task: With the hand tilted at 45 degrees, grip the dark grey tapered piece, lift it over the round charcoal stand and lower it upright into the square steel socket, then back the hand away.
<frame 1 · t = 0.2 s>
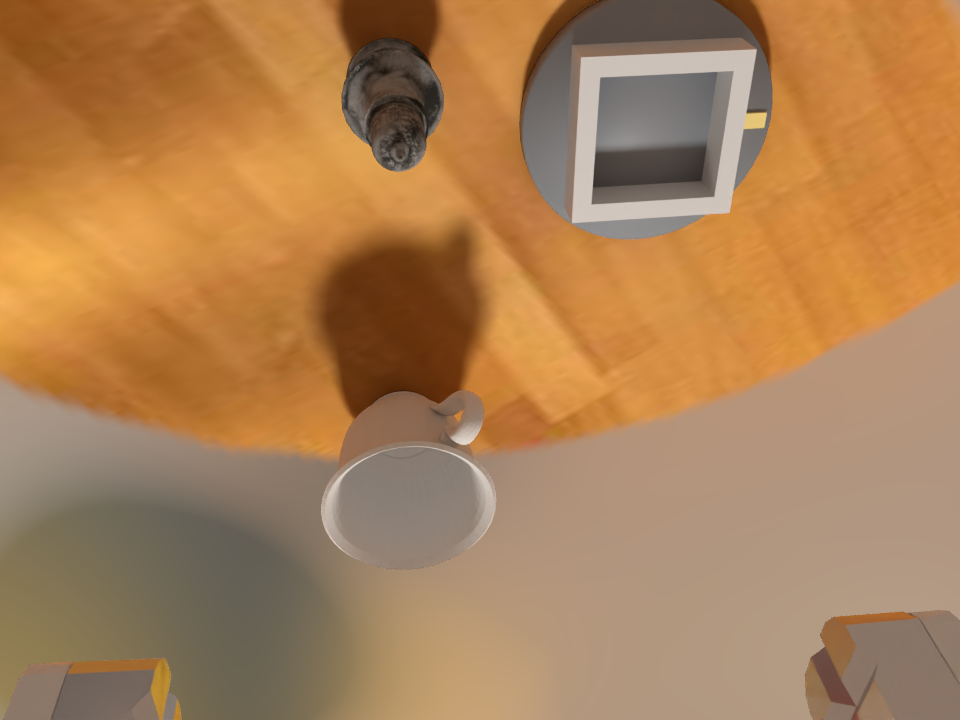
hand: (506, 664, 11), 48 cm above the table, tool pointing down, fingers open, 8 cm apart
socket stand: (642, 117, 58), on the table
dark grey tapered piece: (390, 81, 55), on the table
teacup: (411, 405, 69), on the table
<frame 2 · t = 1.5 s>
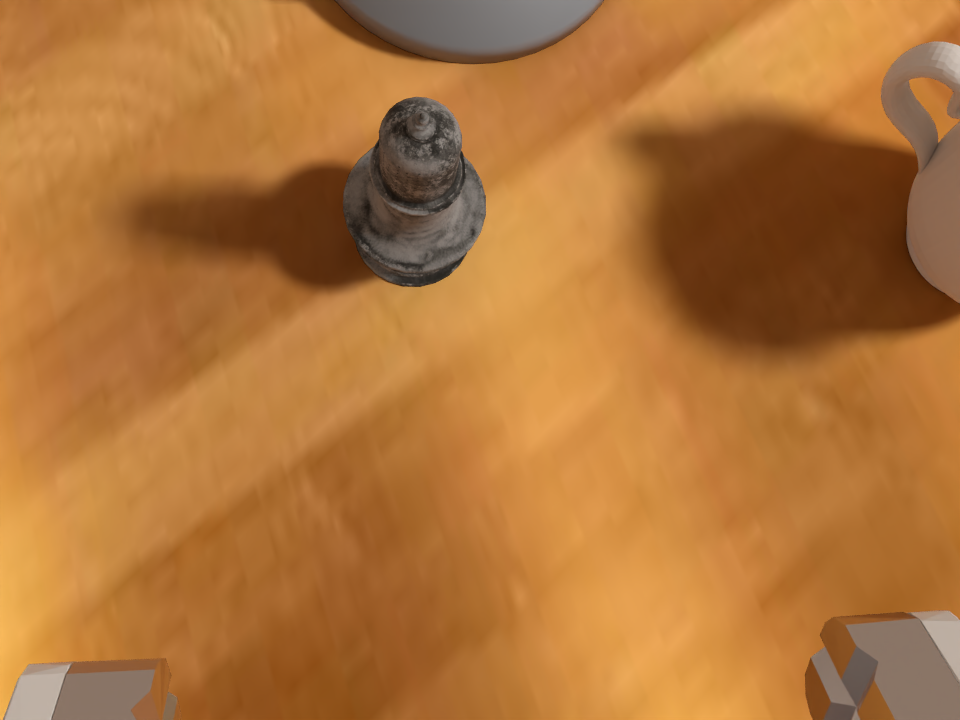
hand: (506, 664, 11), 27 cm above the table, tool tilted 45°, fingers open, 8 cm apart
dark grey tapered piece: (412, 231, 40), on the table
teacup: (933, 226, 43), on the table
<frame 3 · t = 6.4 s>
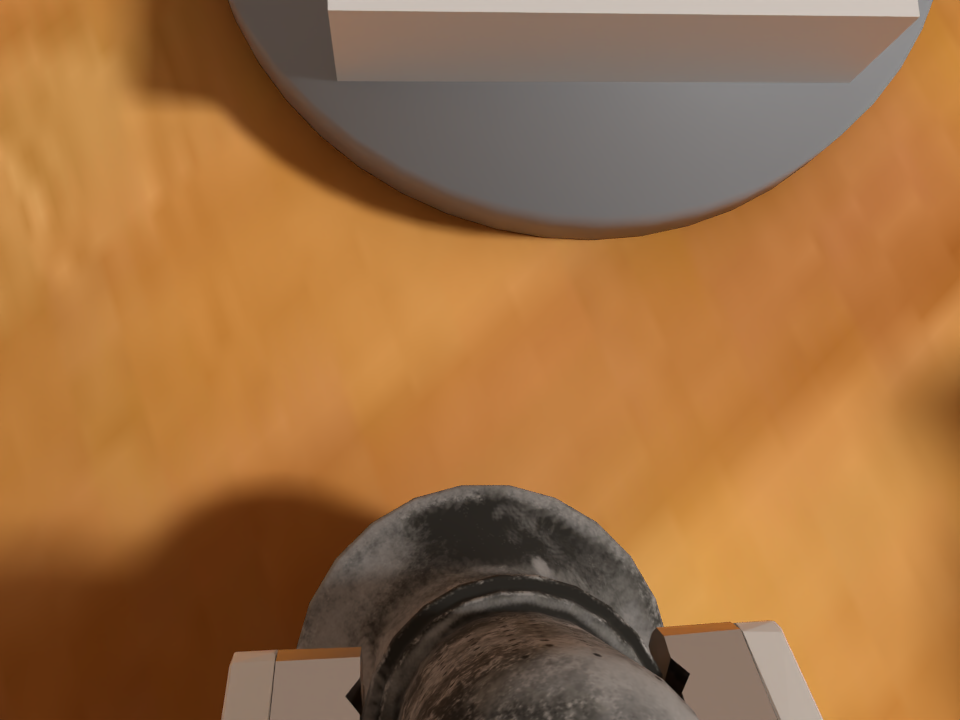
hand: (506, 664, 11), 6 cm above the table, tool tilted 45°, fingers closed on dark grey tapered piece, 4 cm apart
dark grey tapered piece: (466, 641, 17), on the table, touching gripper
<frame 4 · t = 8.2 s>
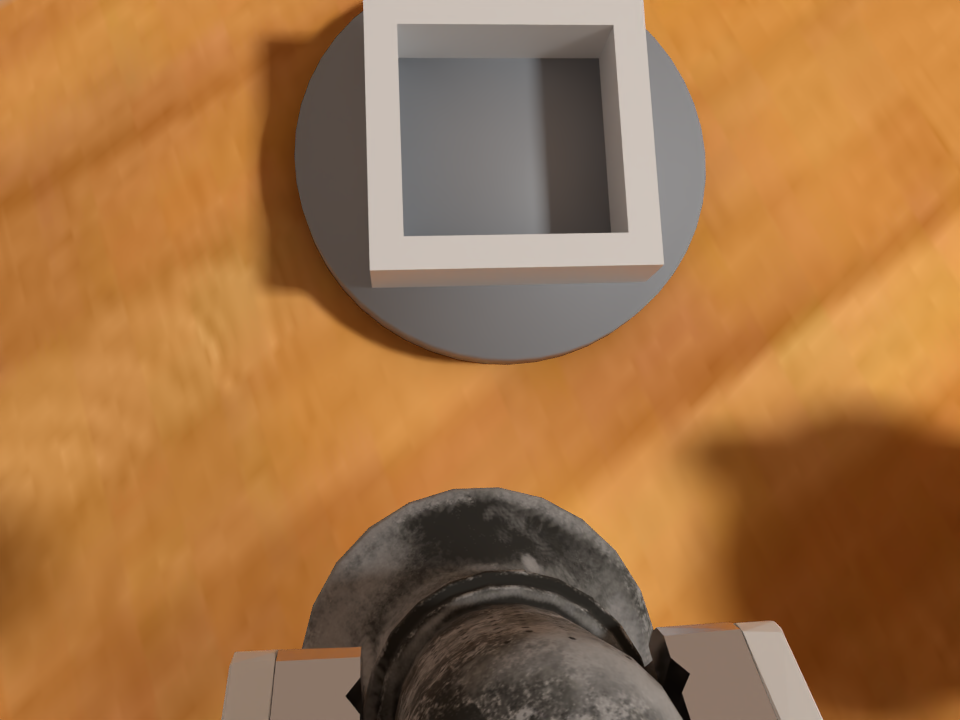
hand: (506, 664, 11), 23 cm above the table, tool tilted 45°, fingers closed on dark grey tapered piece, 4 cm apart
socket stand: (499, 168, 36), on the table
dark grey tapered piece: (465, 638, 18), point 15 cm above the table, touching gripper
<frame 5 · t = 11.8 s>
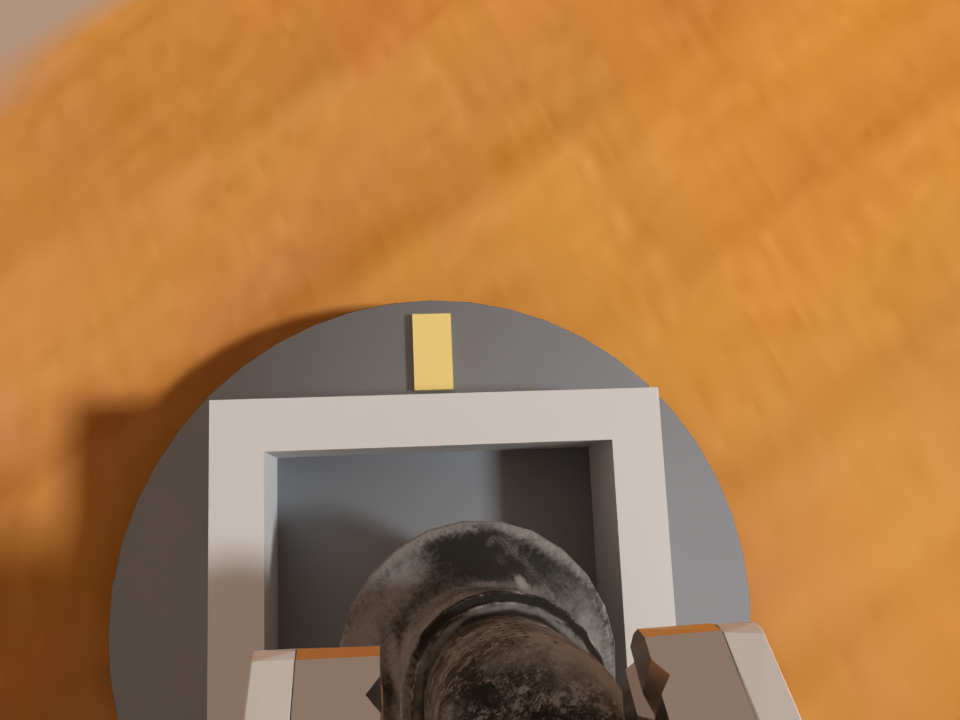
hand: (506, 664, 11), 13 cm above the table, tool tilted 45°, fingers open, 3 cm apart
socket stand: (437, 606, 24), on the table
dark grey tapered piece: (461, 637, 22), point 1 cm above the table, touching gripper, socket stand
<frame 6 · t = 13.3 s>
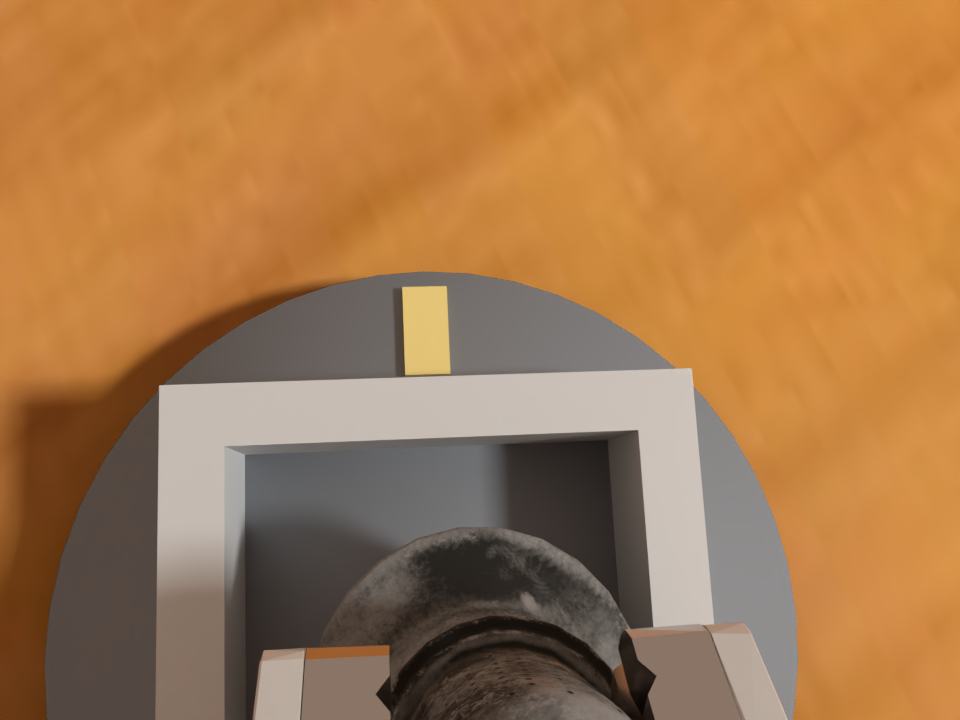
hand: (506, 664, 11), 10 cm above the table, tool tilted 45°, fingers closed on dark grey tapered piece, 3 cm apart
socket stand: (433, 626, 21), on the table
dark grey tapered piece: (461, 663, 19), point 1 cm above the table, touching gripper, socket stand
when the fingers open (10 cm above the table, at t = 13.3 s): dark grey tapered piece stays where it is, resting on socket stand.
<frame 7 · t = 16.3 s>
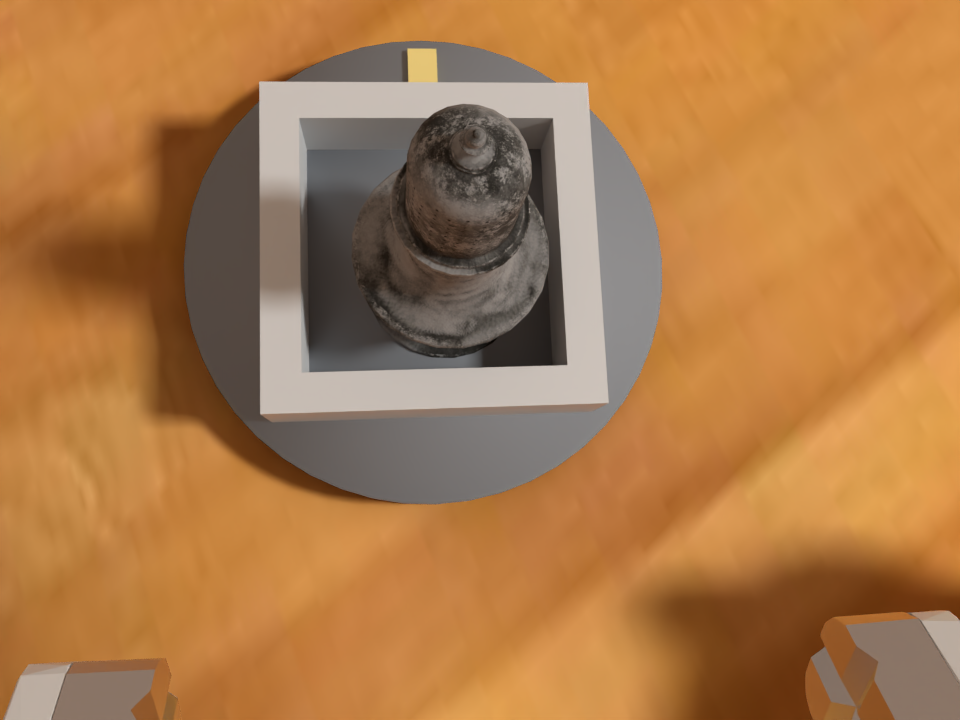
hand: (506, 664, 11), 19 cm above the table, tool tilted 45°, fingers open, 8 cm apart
socket stand: (427, 274, 31), on the table
dark grey tapered piece: (444, 282, 30), point 1 cm above the table, touching socket stand
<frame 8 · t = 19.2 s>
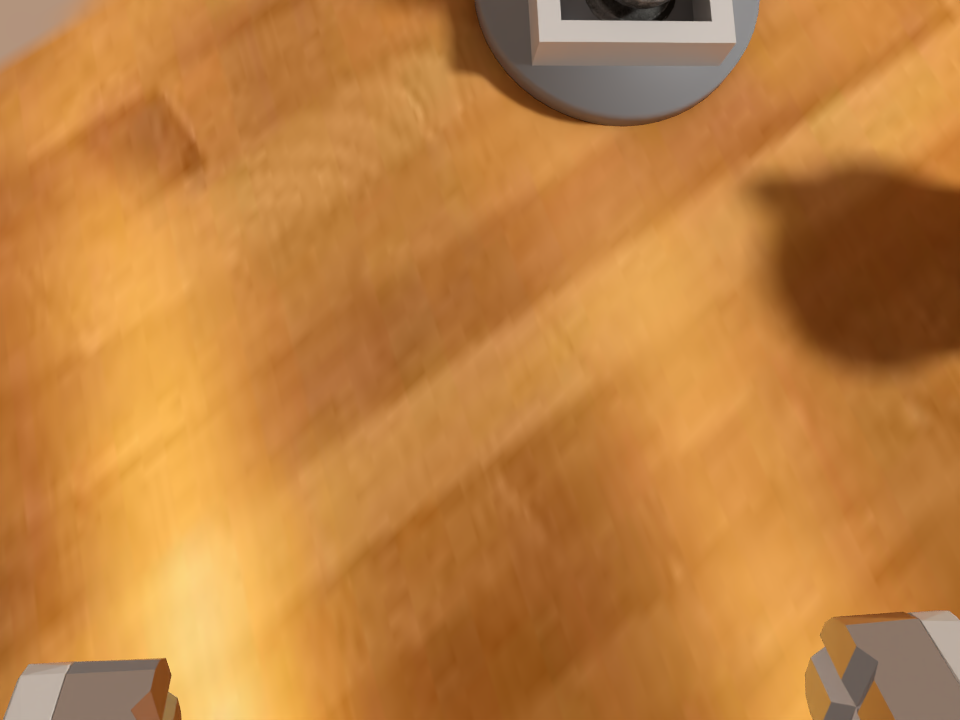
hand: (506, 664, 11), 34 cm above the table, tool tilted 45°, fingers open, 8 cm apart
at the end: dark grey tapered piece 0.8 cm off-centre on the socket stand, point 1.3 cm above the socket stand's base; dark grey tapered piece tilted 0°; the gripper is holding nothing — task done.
